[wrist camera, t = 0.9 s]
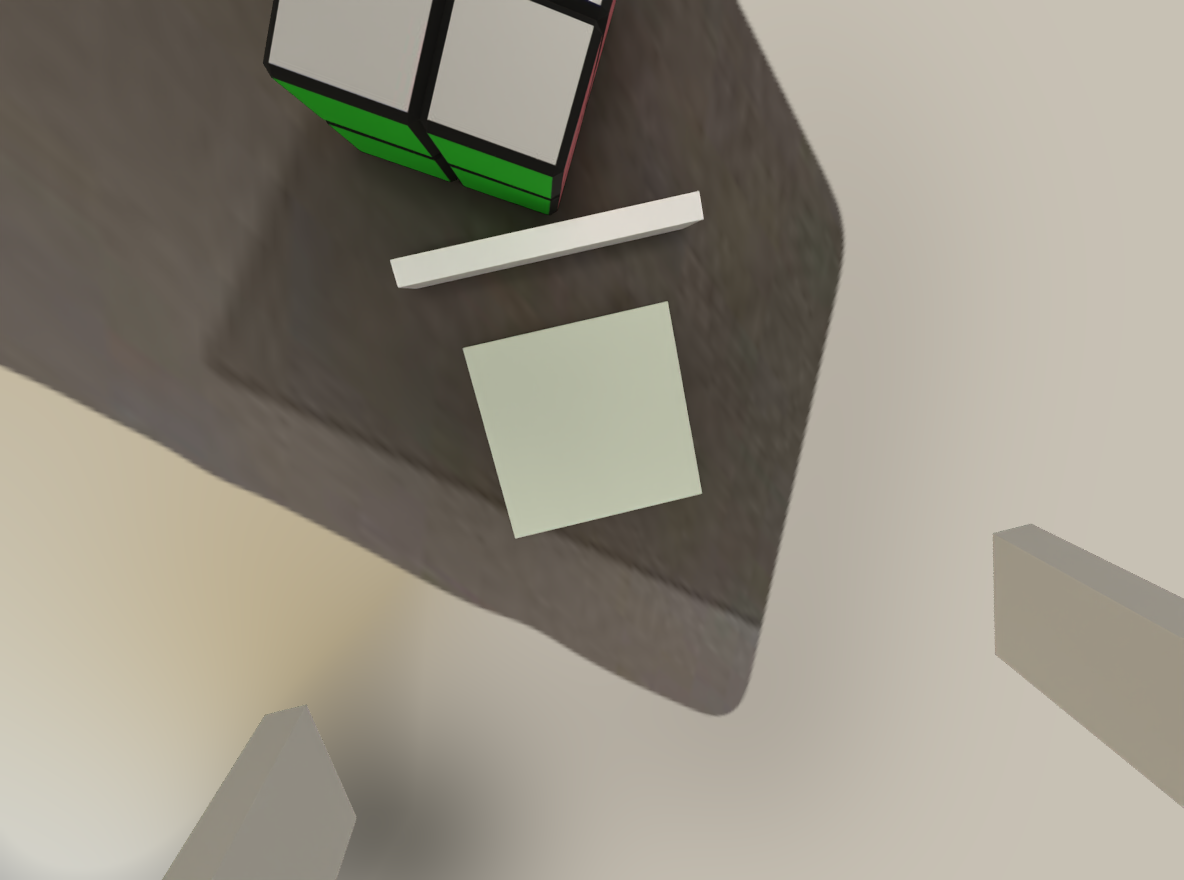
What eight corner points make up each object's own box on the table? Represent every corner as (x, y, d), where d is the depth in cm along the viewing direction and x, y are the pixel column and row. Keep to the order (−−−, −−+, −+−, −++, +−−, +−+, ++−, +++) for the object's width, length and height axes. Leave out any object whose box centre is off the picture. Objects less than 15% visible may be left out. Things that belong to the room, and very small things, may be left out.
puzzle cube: (615, 4, 27) (657, -160, 17) (555, 218, 29) (563, 179, 19) (403, -83, 25) (319, -316, 16) (355, 150, 28) (255, 71, 18)
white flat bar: (416, 288, 29) (398, 287, 25) (409, 264, 29) (390, 259, 25) (682, 229, 30) (703, 219, 26) (678, 204, 29) (699, 190, 25)
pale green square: (463, 347, 30) (462, 348, 30) (665, 301, 30) (667, 301, 30) (515, 535, 33) (515, 538, 33) (700, 491, 33) (702, 493, 33)
